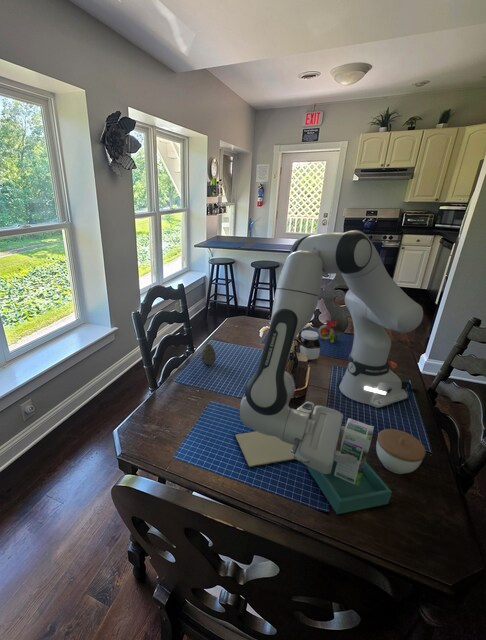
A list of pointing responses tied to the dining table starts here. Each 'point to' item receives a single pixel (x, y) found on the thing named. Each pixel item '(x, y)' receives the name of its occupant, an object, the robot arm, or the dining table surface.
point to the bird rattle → (325, 331)
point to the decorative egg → (208, 355)
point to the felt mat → (263, 448)
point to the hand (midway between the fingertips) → (358, 449)
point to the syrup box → (354, 450)
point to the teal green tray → (352, 490)
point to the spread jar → (310, 344)
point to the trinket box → (399, 451)
